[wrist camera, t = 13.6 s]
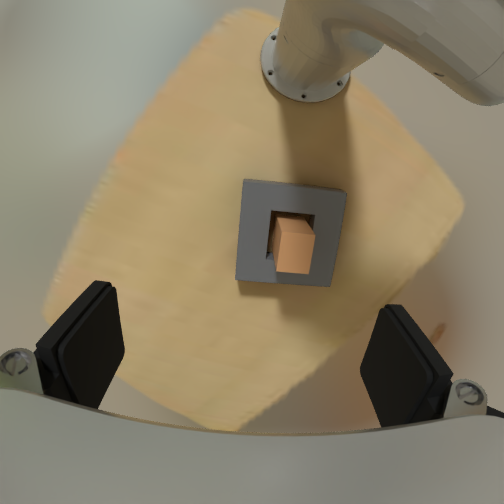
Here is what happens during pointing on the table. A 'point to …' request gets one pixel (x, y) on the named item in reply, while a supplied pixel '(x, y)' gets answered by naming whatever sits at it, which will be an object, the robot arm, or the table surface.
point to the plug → (292, 244)
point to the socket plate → (297, 201)
